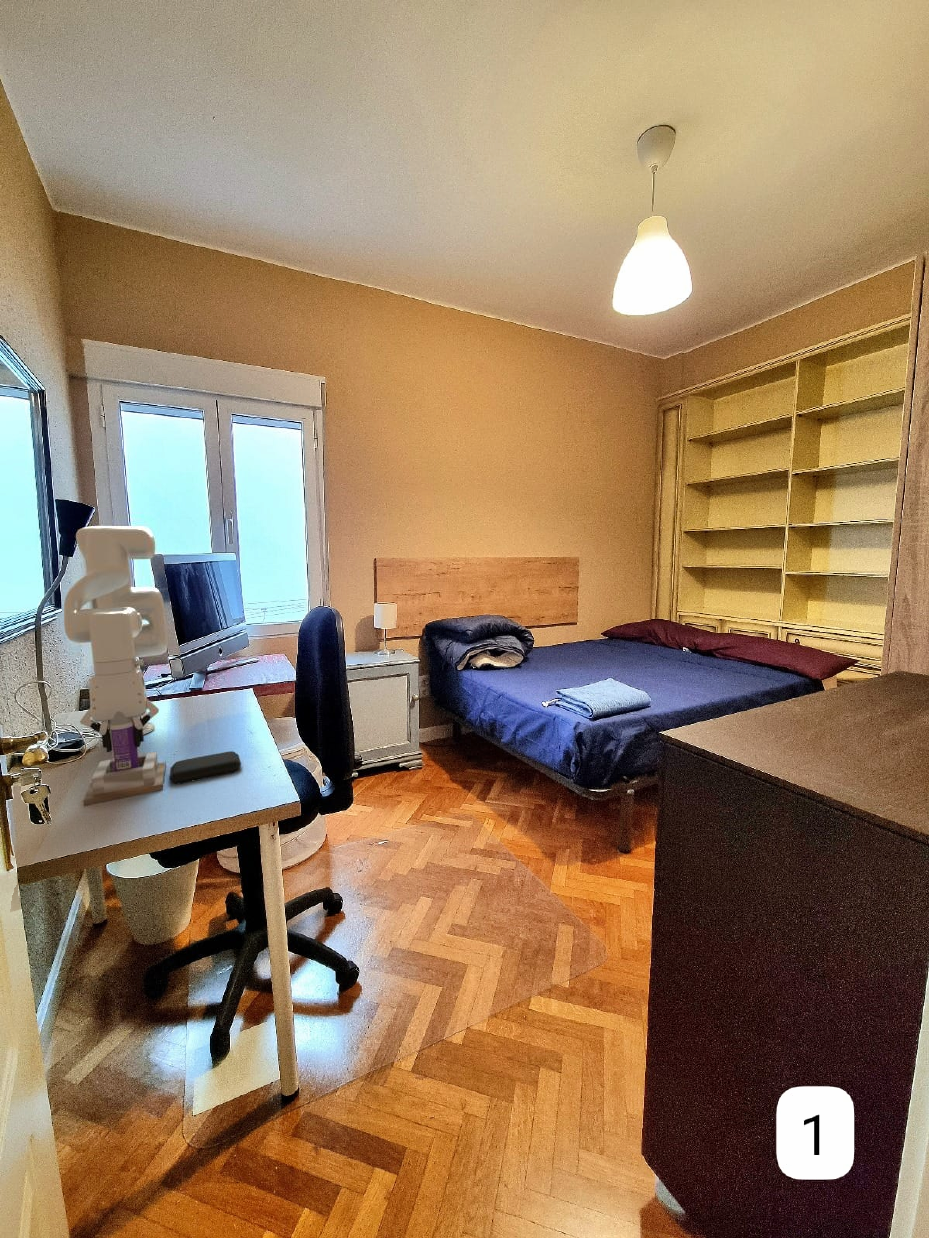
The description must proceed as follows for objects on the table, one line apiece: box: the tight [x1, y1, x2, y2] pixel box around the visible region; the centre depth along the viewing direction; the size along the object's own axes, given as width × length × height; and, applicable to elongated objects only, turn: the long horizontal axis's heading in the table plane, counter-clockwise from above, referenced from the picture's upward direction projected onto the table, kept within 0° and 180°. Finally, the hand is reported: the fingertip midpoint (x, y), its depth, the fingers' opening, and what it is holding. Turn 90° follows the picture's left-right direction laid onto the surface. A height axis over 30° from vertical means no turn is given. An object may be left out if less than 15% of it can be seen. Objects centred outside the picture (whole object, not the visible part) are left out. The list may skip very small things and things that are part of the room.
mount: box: [82, 751, 167, 806], centre depth 112 cm, size 14×14×5 cm
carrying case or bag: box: [169, 750, 242, 785], centre depth 119 cm, size 11×3×15 cm
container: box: [108, 711, 139, 772], centre depth 111 cm, size 5×5×15 cm
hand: (124, 746), depth 112 cm, fingers closed on container, 4 cm apart
